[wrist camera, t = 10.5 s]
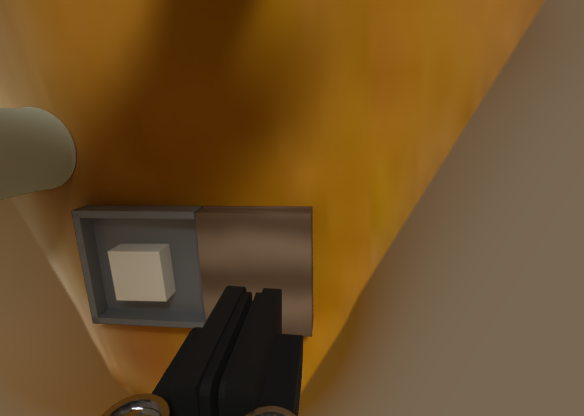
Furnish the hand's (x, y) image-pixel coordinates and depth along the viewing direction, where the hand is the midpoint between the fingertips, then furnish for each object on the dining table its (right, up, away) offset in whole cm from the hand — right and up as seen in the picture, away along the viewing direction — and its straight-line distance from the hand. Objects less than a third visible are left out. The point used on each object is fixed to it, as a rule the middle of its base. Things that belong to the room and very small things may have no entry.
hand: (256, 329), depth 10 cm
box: (-16, -3, +30) cm, 34 cm away
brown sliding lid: (-3, -3, +29) cm, 29 cm away
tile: (-16, -4, +28) cm, 32 cm away
